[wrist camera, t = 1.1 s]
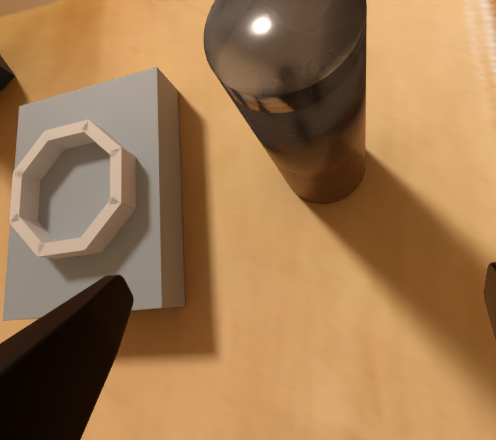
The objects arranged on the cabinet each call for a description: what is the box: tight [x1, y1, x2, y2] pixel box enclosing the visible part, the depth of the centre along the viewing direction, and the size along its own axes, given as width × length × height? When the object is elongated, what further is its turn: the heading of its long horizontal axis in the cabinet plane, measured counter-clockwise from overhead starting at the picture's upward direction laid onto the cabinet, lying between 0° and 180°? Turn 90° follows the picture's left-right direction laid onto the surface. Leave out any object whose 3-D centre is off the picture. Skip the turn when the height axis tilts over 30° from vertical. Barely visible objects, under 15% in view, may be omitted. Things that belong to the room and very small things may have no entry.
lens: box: [204, 0, 367, 204], centre depth 17 cm, size 5×5×13 cm
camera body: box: [3, 67, 185, 321], centre depth 25 cm, size 16×12×4 cm
